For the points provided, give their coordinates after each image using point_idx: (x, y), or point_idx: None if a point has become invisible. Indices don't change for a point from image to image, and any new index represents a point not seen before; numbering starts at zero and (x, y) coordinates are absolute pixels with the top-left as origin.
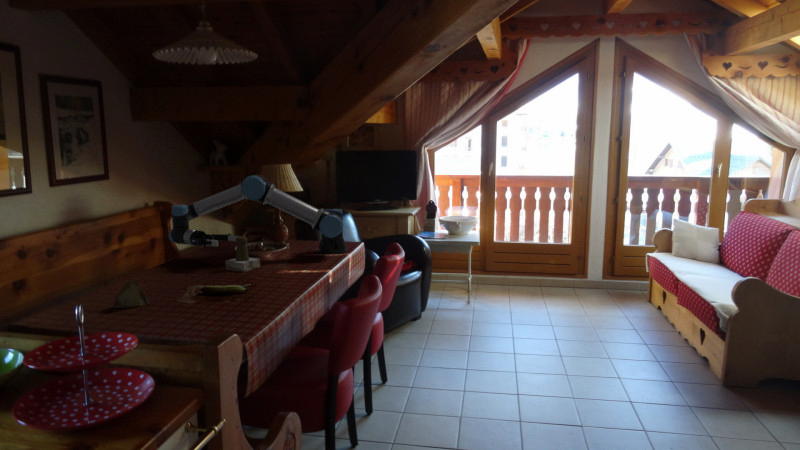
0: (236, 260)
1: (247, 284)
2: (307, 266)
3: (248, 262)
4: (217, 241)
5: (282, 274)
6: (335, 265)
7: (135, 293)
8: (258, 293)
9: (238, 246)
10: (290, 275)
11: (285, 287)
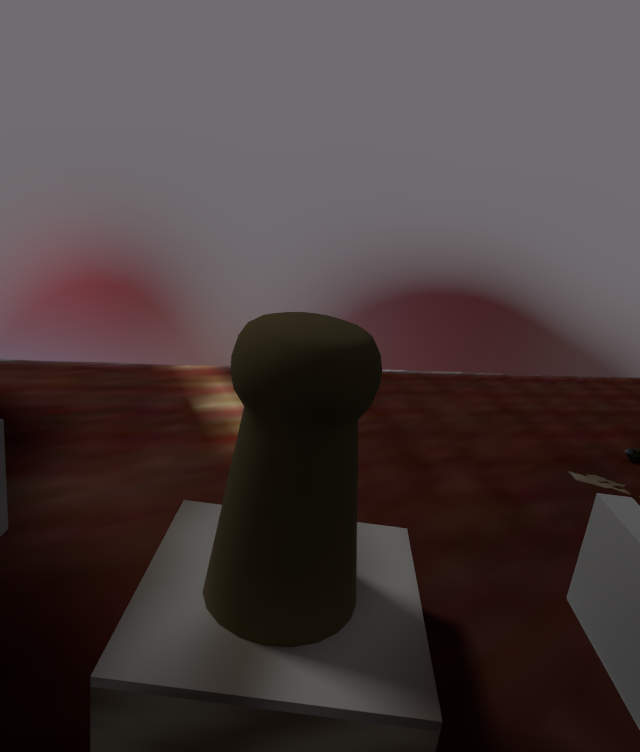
0: (351, 616)
1: (585, 479)
2: (117, 409)
3: None
4: (605, 511)
5: None
6: (84, 362)
7: None
8: (616, 429)
9: (357, 442)
10: None
11: (492, 401)
